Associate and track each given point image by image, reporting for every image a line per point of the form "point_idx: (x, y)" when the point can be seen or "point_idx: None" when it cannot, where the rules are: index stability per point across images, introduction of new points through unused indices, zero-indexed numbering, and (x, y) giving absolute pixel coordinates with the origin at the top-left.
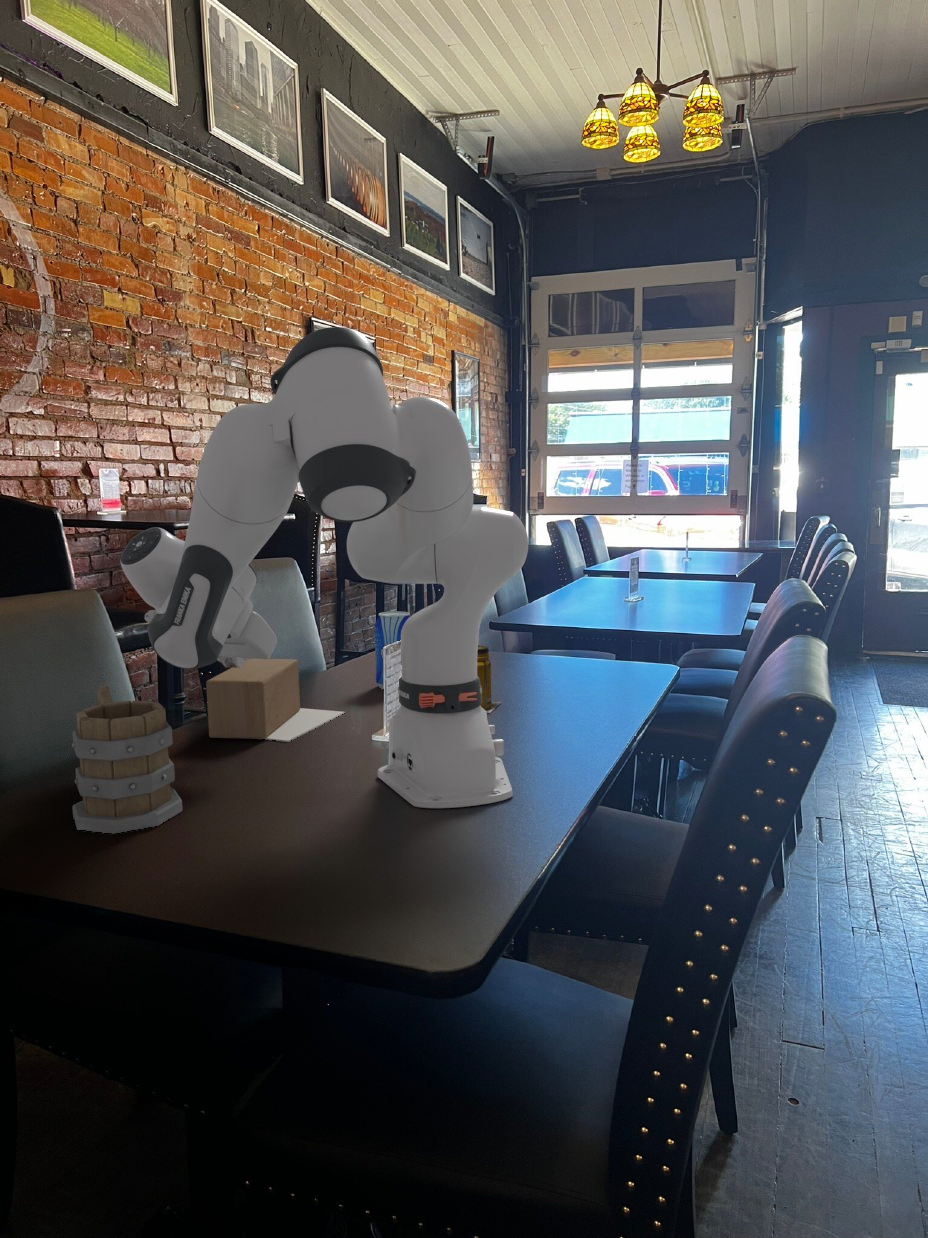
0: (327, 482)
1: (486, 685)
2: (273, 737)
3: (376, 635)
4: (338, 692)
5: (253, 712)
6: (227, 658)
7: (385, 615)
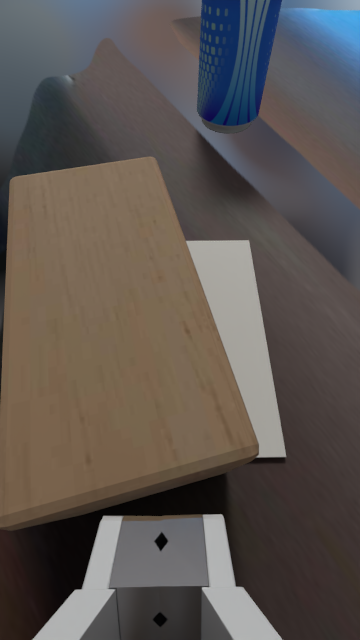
0: None
1: None
2: None
3: (218, 14)
4: (157, 154)
5: (208, 476)
6: (129, 621)
7: None
